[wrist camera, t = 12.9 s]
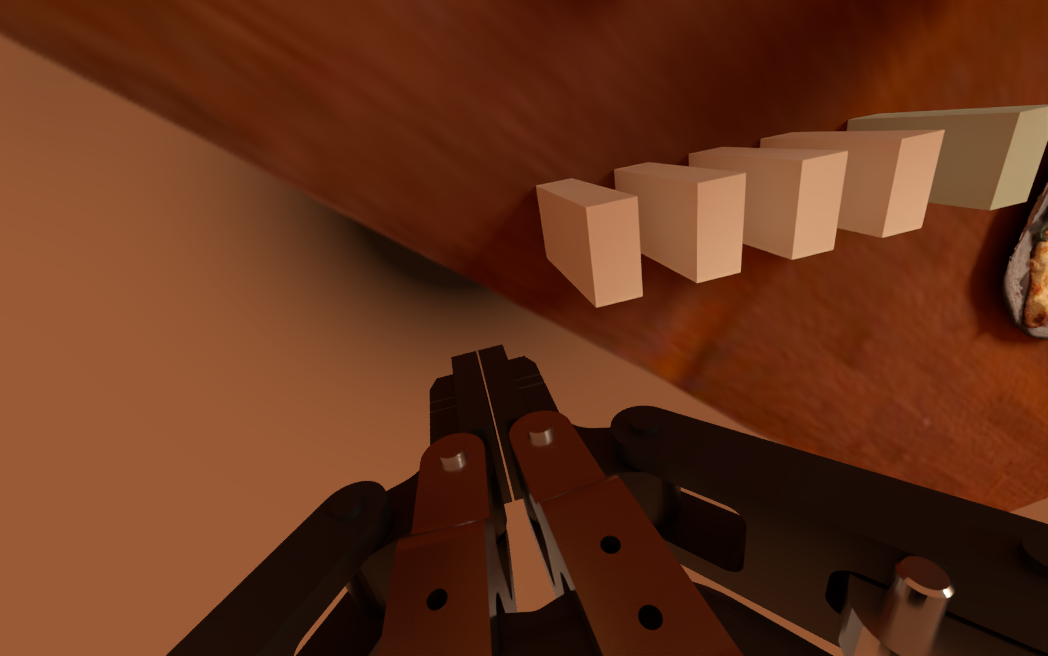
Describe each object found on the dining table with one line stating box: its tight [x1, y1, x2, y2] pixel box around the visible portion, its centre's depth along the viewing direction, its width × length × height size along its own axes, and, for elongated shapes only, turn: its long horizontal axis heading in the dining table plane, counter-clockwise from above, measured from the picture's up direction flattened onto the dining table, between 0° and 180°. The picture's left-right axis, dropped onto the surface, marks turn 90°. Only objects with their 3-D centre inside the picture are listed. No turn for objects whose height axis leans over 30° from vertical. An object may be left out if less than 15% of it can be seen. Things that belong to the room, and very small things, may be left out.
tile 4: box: [760, 130, 945, 238], centre depth 27 cm, size 2×5×10 cm, turn 10°
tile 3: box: [689, 147, 848, 260], centre depth 26 cm, size 2×5×10 cm, turn 11°
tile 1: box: [536, 178, 643, 308], centre depth 25 cm, size 2×5×10 cm, turn 10°
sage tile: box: [847, 105, 1048, 210], centre depth 28 cm, size 2×5×10 cm, turn 10°
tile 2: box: [614, 162, 746, 283], centre depth 26 cm, size 2×5×10 cm, turn 10°
